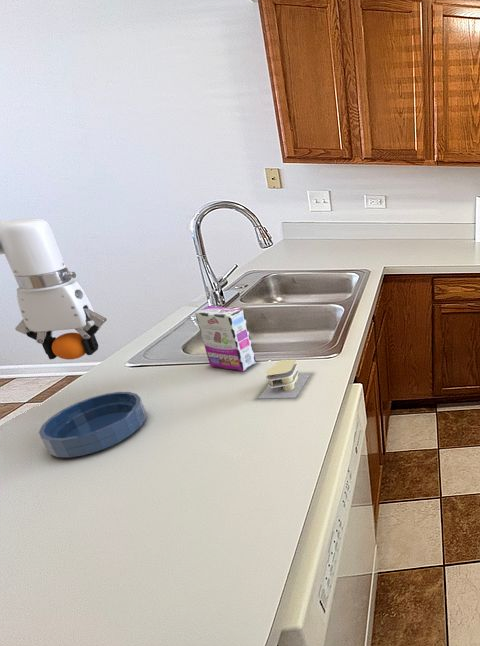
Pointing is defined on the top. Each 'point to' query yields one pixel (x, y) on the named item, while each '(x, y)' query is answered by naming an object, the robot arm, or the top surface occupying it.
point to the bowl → (93, 424)
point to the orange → (68, 346)
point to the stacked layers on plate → (284, 380)
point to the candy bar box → (226, 338)
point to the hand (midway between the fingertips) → (74, 353)
